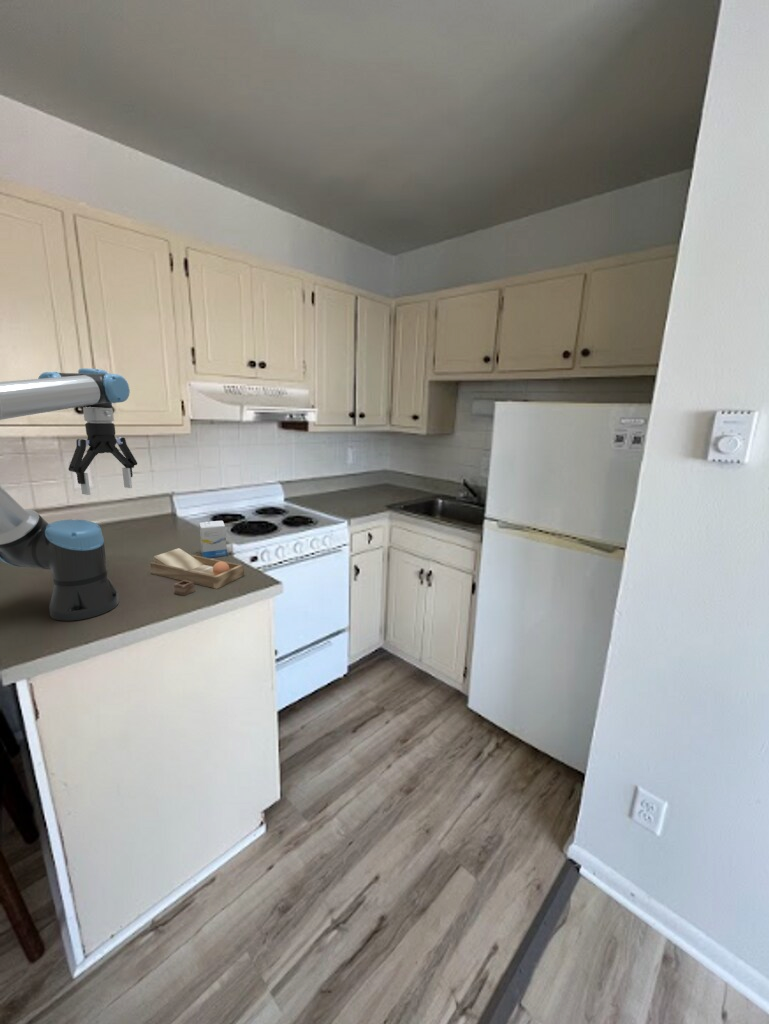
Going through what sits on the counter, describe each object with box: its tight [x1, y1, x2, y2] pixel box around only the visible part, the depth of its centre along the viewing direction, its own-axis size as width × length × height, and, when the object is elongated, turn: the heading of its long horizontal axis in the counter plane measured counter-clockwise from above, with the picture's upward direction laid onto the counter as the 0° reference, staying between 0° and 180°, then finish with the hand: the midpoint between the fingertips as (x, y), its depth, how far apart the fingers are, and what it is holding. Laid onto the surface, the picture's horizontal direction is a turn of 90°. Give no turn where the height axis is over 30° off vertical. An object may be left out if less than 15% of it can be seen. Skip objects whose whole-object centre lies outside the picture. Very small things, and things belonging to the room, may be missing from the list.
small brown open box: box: [173, 580, 195, 597], centre depth 125 cm, size 4×4×3 cm
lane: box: [149, 547, 245, 590], centre depth 139 cm, size 12×28×6 cm, turn 67°
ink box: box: [198, 520, 228, 559], centre depth 158 cm, size 9×8×12 cm
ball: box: [213, 560, 230, 576], centre depth 135 cm, size 5×5×5 cm
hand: (108, 490), depth 135 cm, fingers open, 13 cm apart
